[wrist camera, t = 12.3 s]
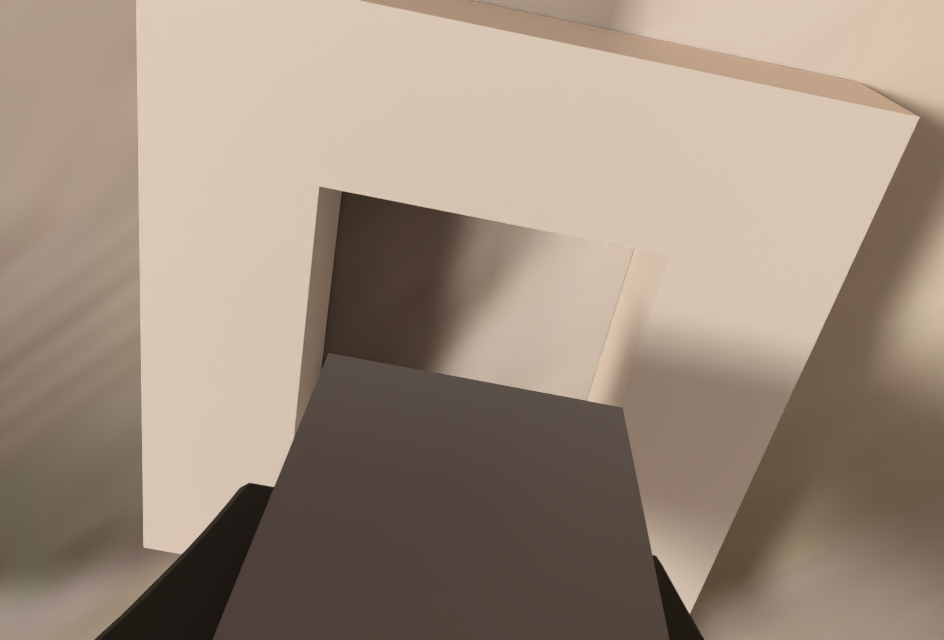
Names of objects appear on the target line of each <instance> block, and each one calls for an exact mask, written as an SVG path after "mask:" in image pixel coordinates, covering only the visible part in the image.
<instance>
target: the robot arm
mask: <svg viewBox="0 0 944 640" xmlns="http://www.w3.org/2000/svg"><path fill="white" fill-rule="evenodd" d="M273 489H274V487H271V486H265V485H259V484H254V483H248V484H246V485H244V486H242V487H240V488H239V489H238V491H237V492H236V493H235V494H234V496H233V497H232V498H231V499H230V501H229V502H228V503H227V504H226V505H225V507H224V508H223V509H222V510H221V511H220V513H219V514H218V515H217V516H216V517H215V518H214V520H213V521H212V522H211V523H210V524H209V525H208V526H207V527H206V529H205V530H204V531H203V532H202V533H201V534H200V535H199V536H198V537H197V539H196V540H195V541H194V542H193V543H192V544H191V545H190V546H189V547H188V548H187V549H186V550H185V551H184V553H183V554H182V555H181V556H180V557H179V558H178V559H177V560H176V561H175V562H174V563H173V564H172V565H171V566H170V567H169V568H168V569H167V570H166V571H165V572H164V573H163V574H162V575H161V576H160V577H159V578H158V579H157V580H156V581H155V582H154V583H153V584H152V585H151V586H150V587H149V588H148V589H147V590H146V591H145V592H144V593H143V594H142V595H141V596H140V597H139V598H138V599H137V600H136V601H135V602H134V603H133V604H132V605H131V606H130V607H129V608H128V609H127V610H126V611H125V612H124V613H123V614H122V615H121V616H120V617H119V618H118V619H117V620H115V621H114V622H113V623H112V624H111V625H110V626H109V627H108V628H107V629H106V630H104V631H103V632H102V633H101V634H100V635H99V636H98V637H97V638H96V639H95V640H213V637H214V635H215V632H216V630H217V627H218V625H219V622H220V620H221V617H222V615H223V613H224V610H225V608H226V605H227V603H228V600H229V598H230V595H231V593H232V590H233V588H234V585H235V583H236V580H237V578H238V575H239V573H240V570H241V568H242V566H243V563H244V561H245V558H246V556H247V553H248V551H249V548H250V546H251V543H252V541H253V538H254V536H255V533H256V531H257V528H258V526H259V524H260V521H261V519H262V516H263V514H264V511H265V509H266V506H267V504H268V501H269V499H270V496H271V494H272V491H273ZM652 556H653V561H654V566H655V571H656V576H657V581H658V585H659V590H660V595H661V600H662V605H663V610H664V615H665V620H666V625H667V630H668V635H669V640H704V638H703V637H702V635H701V633H700V631H699V630H698V628H697V626H696V624H695V623H694V621H693V619H692V617H691V616H690V614H689V612H688V610H687V609H686V607H685V605H684V603H683V601H682V600H681V598H680V596H679V594H678V592H677V591H676V589H675V587H674V585H673V583H672V582H671V580H670V578H669V576H668V574H667V573H666V571H665V569H664V567H663V566H662V564H661V562H660V561H659V559H658V558H657V556H655V555H652Z"/></svg>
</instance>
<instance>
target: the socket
mask: <svg viewBox="0 0 944 640" xmlns="http://www.w3.org/2000/svg"><path fill="white" fill-rule="evenodd" d="M136 24H137V98H138V172H139V246H140V319H141V393H142V467H143V541H144V548H149V549H155V550H161V551H166V552H172V553H178V554H183V553H184V551H185V550H186V549H187V548H188V547H189V546H190V545H191V544H192V543H193V542H194V541H195V540H196V539H197V537H198V536H199V535H200V534H201V533H202V532H203V531H204V530H205V529H206V527H207V526H208V525H209V524H210V523H211V522H212V521H213V520H214V518H215V517H216V516H217V515H218V514H219V513H220V511H221V510H222V509H223V508H224V507H225V505H226V504H227V503H228V502H229V501H230V499H231V498H232V497H233V496H234V494H235V493H236V492H237V491H238V489H239V488H240V487H242V486H244V485H246V484H248V483H254V484H259V485H265V486H271V487H274V486H275V484H276V481H277V479H278V477H279V474H280V472H281V469H282V467H283V464H284V462H285V459H286V457H287V454H288V452H289V449H290V447H291V444H292V442H293V439H294V437H295V435H296V432H297V430H298V427H299V425H300V422H301V420H302V417H303V415H304V412H305V410H306V407H307V405H308V402H309V400H310V397H311V395H312V392H313V390H314V388H315V385H316V383H317V380H318V378H319V375H320V373H321V367H322V358H323V350H324V341H325V333H326V324H327V315H328V307H329V298H330V290H331V281H332V272H333V264H334V255H335V246H336V238H337V229H338V221H339V212H340V203H341V195H342V191H345V192H350V193H355V194H360V195H365V196H370V197H375V198H380V199H385V200H390V201H396V202H401V203H406V204H411V205H416V206H421V207H426V208H431V209H436V210H441V211H446V212H451V213H456V214H462V215H467V216H472V217H477V218H482V219H487V220H492V221H497V222H502V223H507V224H512V225H517V226H522V227H528V228H533V229H538V230H543V231H548V232H553V233H558V234H563V235H568V236H573V237H578V238H583V239H588V240H593V241H599V242H604V243H609V244H614V245H619V246H624V247H629V248H634V249H635V250H634V253H633V256H632V259H631V262H630V265H629V269H628V272H627V275H626V278H625V281H624V285H623V288H622V291H621V294H620V297H619V300H618V304H617V307H616V310H615V313H614V316H613V320H612V323H611V326H610V329H609V332H608V335H607V339H606V342H605V345H604V348H603V351H602V355H601V358H600V361H599V364H598V367H597V370H596V374H595V377H594V380H593V383H592V386H591V389H590V393H589V396H588V399H587V401H590V402H595V403H600V404H606V405H611V406H617V407H622V408H623V412H624V417H625V422H626V427H627V432H628V437H629V442H630V447H631V452H632V457H633V462H634V467H635V472H636V477H637V482H638V486H639V491H640V496H641V501H642V506H643V511H644V516H645V521H646V526H647V531H648V536H649V541H650V546H651V551H652V555H655V556H657V558H658V559H659V561H660V562H661V564H662V566H663V567H664V569H665V571H666V573H667V574H668V576H669V578H670V580H671V582H672V583H673V585H674V587H675V589H676V591H677V592H678V594H679V596H680V598H681V600H682V601H683V603H684V605H685V607H686V609H687V610H688V612H689V614H690V613H691V611H692V608H693V606H694V604H695V602H696V600H697V598H698V595H699V593H700V591H701V589H702V587H703V585H704V582H705V580H706V578H707V576H708V574H709V572H710V570H711V567H712V565H713V563H714V561H715V559H716V557H717V554H718V552H719V550H720V548H721V546H722V544H723V541H724V539H725V537H726V535H727V533H728V531H729V528H730V526H731V524H732V522H733V520H734V518H735V516H736V513H737V511H738V509H739V507H740V505H741V503H742V500H743V498H744V496H745V494H746V492H747V490H748V487H749V485H750V483H751V481H752V479H753V477H754V474H755V472H756V470H757V468H758V466H759V464H760V462H761V459H762V457H763V455H764V453H765V451H766V449H767V446H768V444H769V442H770V440H771V438H772V436H773V433H774V431H775V429H776V427H777V425H778V423H779V420H780V418H781V416H782V414H783V412H784V410H785V408H786V405H787V403H788V401H789V399H790V397H791V395H792V392H793V390H794V388H795V386H796V384H797V382H798V379H799V377H800V375H801V373H802V371H803V369H804V366H805V364H806V362H807V360H808V358H809V356H810V354H811V351H812V349H813V347H814V345H815V343H816V341H817V338H818V336H819V334H820V332H821V330H822V328H823V325H824V323H825V321H826V319H827V317H828V315H829V312H830V310H831V308H832V306H833V304H834V302H835V300H836V297H837V295H838V293H839V291H840V289H841V287H842V284H843V282H844V280H845V278H846V276H847V274H848V271H849V269H850V267H851V265H852V263H853V261H854V258H855V256H856V254H857V252H858V250H859V248H860V246H861V243H862V241H863V239H864V237H865V235H866V233H867V230H868V228H869V226H870V224H871V222H872V220H873V217H874V215H875V213H876V211H877V209H878V207H879V204H880V202H881V200H882V198H883V196H884V194H885V191H886V189H887V187H888V185H889V183H890V181H891V179H892V176H893V174H894V172H895V170H896V168H897V166H898V163H899V161H900V159H901V157H902V155H903V153H904V150H905V148H906V146H907V144H908V142H909V140H910V137H911V135H912V133H913V131H914V129H915V127H916V125H917V122H918V120H919V118H920V117H919V116H917V115H915V114H914V113H912V112H910V111H908V110H907V109H905V108H903V107H901V106H900V105H898V104H896V103H894V102H893V101H891V100H889V99H887V98H886V97H884V96H882V95H880V94H879V93H877V92H875V91H873V90H872V89H870V88H868V87H866V86H865V85H863V84H861V83H859V82H856V81H851V80H846V79H841V78H837V77H832V76H827V75H822V74H818V73H813V72H808V71H803V70H799V69H794V68H789V67H784V66H779V65H775V64H770V63H765V62H760V61H756V60H751V59H746V58H741V57H737V56H732V55H727V54H722V53H717V52H713V51H708V50H703V49H698V48H694V47H689V46H684V45H679V44H674V43H670V42H665V41H660V40H655V39H651V38H646V37H641V36H636V35H632V34H627V33H622V32H617V31H612V30H608V29H603V28H598V27H593V26H589V25H584V24H579V23H574V22H570V21H565V20H560V19H555V18H550V17H546V16H541V15H536V14H531V13H527V12H522V11H517V10H512V9H508V8H503V7H498V6H493V5H488V4H484V3H479V2H474V1H469V0H136Z"/></svg>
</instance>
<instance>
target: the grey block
mask: <svg viewBox="0 0 944 640" xmlns="http://www.w3.org/2000/svg"><path fill="white" fill-rule="evenodd" d="M213 640H669V635H668V630H667V625H666V620H665V615H664V610H663V605H662V600H661V595H660V590H659V585H658V581H657V576H656V571H655V566H654V561H653V556H652V551H651V546H650V541H649V536H648V531H647V526H646V521H645V516H644V511H643V506H642V501H641V496H640V491H639V486H638V482H637V477H636V472H635V467H634V462H633V457H632V452H631V447H630V442H629V437H628V432H627V427H626V422H625V417H624V412H623V408H622V407H617V406H611V405H606V404H600V403H595V402H590V401H584V400H579V399H574V398H568V397H563V396H557V395H552V394H547V393H541V392H536V391H531V390H525V389H520V388H514V387H509V386H504V385H498V384H493V383H488V382H482V381H477V380H471V379H466V378H461V377H455V376H450V375H445V374H439V373H434V372H428V371H423V370H418V369H412V368H407V367H402V366H396V365H391V364H385V363H380V362H375V361H369V360H364V359H359V358H353V357H348V356H343V355H337V354H332V353H328V355H327V358H326V360H325V363H324V365H323V368H322V370H321V373H320V375H319V378H318V380H317V383H316V385H315V388H314V390H313V392H312V395H311V397H310V400H309V402H308V405H307V407H306V410H305V412H304V415H303V417H302V420H301V422H300V425H299V427H298V430H297V432H296V435H295V437H294V439H293V442H292V444H291V447H290V449H289V452H288V454H287V457H286V459H285V462H284V464H283V467H282V469H281V472H280V474H279V477H278V479H277V481H276V484H275V486H274V489H273V491H272V494H271V496H270V499H269V501H268V504H267V506H266V509H265V511H264V514H263V516H262V519H261V521H260V524H259V526H258V528H257V531H256V533H255V536H254V538H253V541H252V543H251V546H250V548H249V551H248V553H247V556H246V558H245V561H244V563H243V566H242V568H241V570H240V573H239V575H238V578H237V580H236V583H235V585H234V588H233V590H232V593H231V595H230V598H229V600H228V603H227V605H226V608H225V610H224V613H223V615H222V617H221V620H220V622H219V625H218V627H217V630H216V632H215V635H214V637H213Z"/></svg>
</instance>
